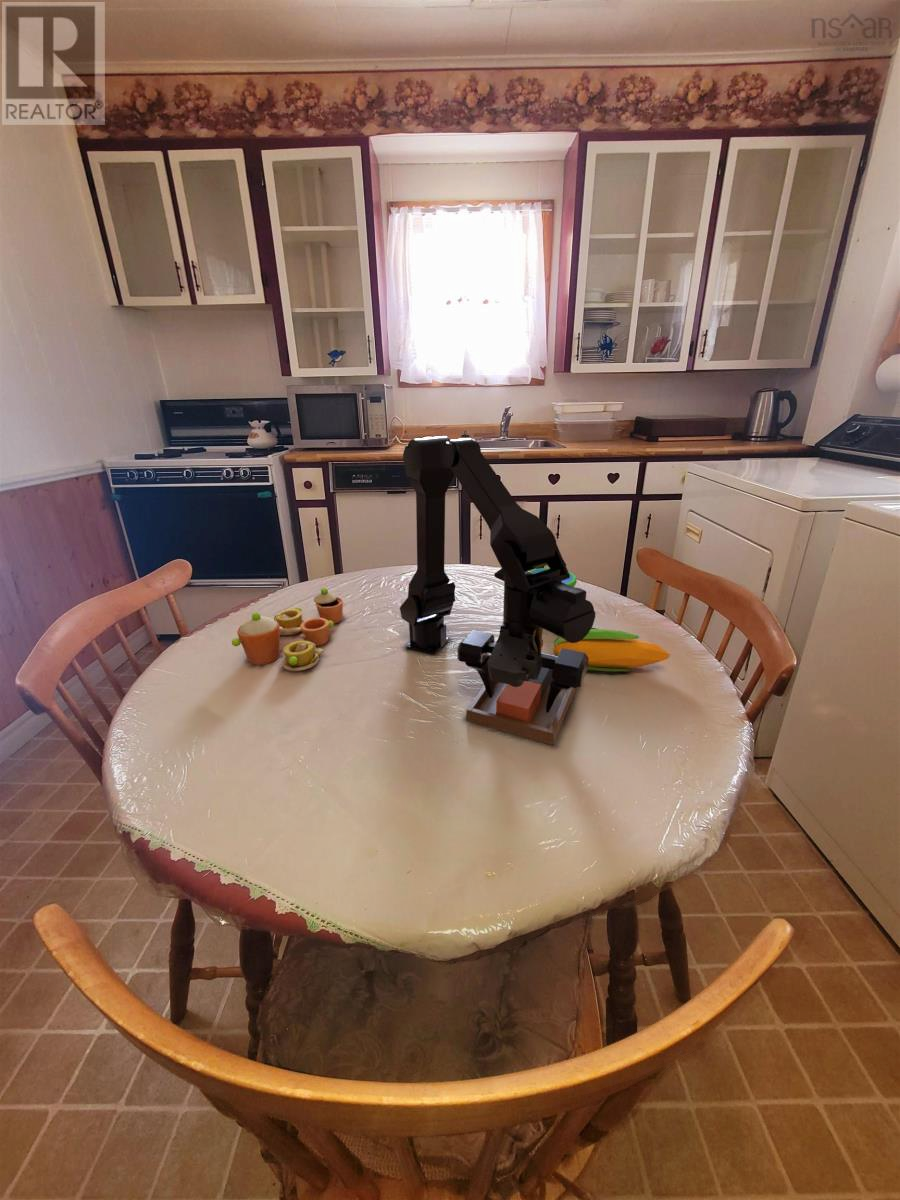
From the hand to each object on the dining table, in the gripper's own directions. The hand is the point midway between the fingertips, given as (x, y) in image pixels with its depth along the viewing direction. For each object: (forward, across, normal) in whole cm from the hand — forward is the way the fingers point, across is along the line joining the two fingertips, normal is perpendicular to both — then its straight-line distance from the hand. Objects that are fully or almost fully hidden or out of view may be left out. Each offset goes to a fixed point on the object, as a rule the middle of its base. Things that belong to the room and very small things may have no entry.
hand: (519, 703), depth 75 cm
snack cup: (+2, -4, +34) cm, 34 cm away
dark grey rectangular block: (+1, 0, +7) cm, 7 cm away
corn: (+2, +10, +20) cm, 22 cm away
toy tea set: (+2, -48, +5) cm, 49 cm away
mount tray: (+2, 0, +4) cm, 4 cm away
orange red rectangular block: (+1, 0, 0) cm, 1 cm away
